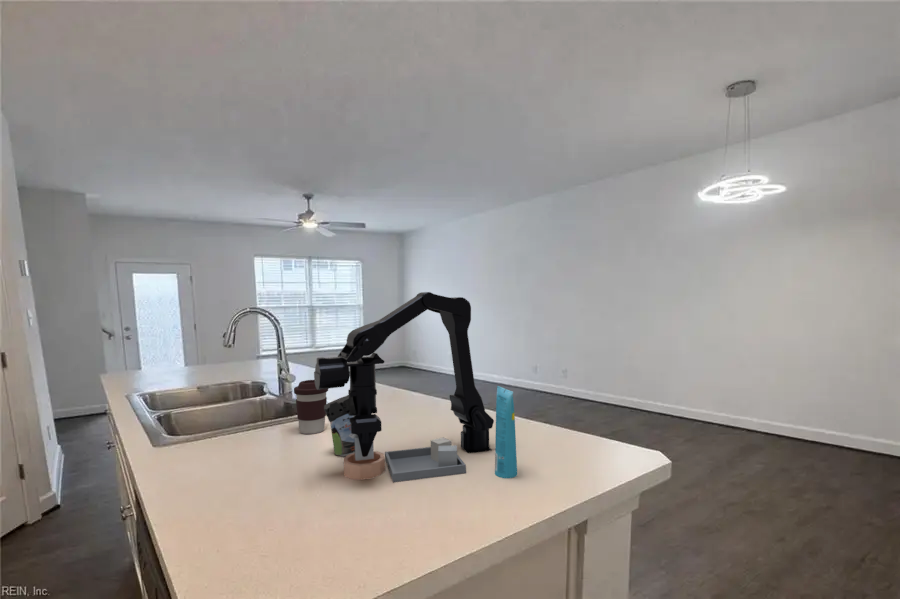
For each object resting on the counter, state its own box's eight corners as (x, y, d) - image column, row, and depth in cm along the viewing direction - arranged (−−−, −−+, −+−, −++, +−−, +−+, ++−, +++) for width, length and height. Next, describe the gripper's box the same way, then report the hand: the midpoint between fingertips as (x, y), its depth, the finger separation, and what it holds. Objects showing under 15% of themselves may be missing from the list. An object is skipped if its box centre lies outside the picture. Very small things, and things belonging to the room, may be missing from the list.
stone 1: (372, 453, 102) (371, 431, 102) (373, 458, 98) (373, 436, 98) (354, 455, 101) (354, 433, 101) (355, 460, 97) (355, 438, 97)
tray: (449, 453, 111) (449, 444, 111) (466, 475, 97) (465, 464, 97) (385, 461, 107) (385, 451, 107) (393, 484, 93) (392, 473, 93)
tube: (524, 479, 94) (523, 390, 94) (505, 484, 92) (504, 392, 92) (505, 468, 101) (504, 384, 101) (487, 472, 99) (486, 386, 99)
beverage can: (352, 459, 108) (351, 411, 108) (325, 458, 110) (324, 410, 110) (362, 451, 114) (362, 405, 114) (336, 449, 116) (335, 404, 116)
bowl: (382, 463, 105) (381, 449, 105) (386, 478, 96) (386, 462, 96) (343, 468, 103) (343, 453, 103) (344, 483, 94) (344, 467, 94)
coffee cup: (310, 438, 126) (309, 385, 126) (287, 433, 131) (286, 382, 131) (335, 429, 135) (335, 380, 135) (313, 424, 140) (313, 377, 140)
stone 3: (457, 465, 102) (456, 445, 102) (457, 471, 98) (457, 450, 98) (439, 465, 102) (438, 445, 102) (438, 471, 98) (438, 451, 98)
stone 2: (443, 455, 109) (443, 437, 109) (451, 458, 106) (451, 440, 106) (430, 458, 107) (430, 440, 107) (438, 462, 104) (438, 443, 104)
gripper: (326, 379, 106) (327, 444, 106) (325, 395, 88) (326, 473, 88) (372, 376, 109) (374, 439, 109) (381, 391, 91) (382, 466, 91)
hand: (364, 453), depth 100 cm, fingers closed on stone 1, 4 cm apart
